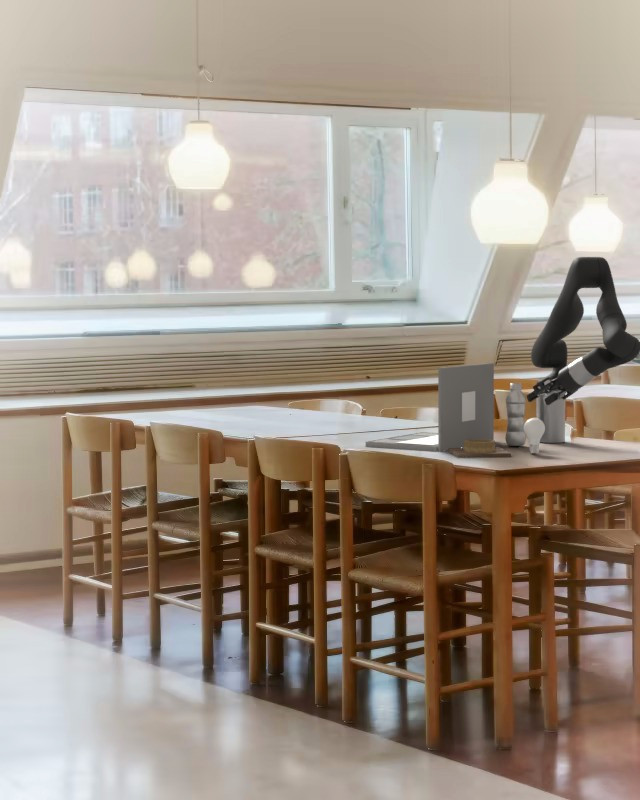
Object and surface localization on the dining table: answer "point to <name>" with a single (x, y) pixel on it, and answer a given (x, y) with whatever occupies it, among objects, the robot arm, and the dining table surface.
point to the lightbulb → (534, 433)
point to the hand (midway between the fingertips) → (537, 400)
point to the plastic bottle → (515, 416)
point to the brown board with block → (479, 449)
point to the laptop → (455, 411)
